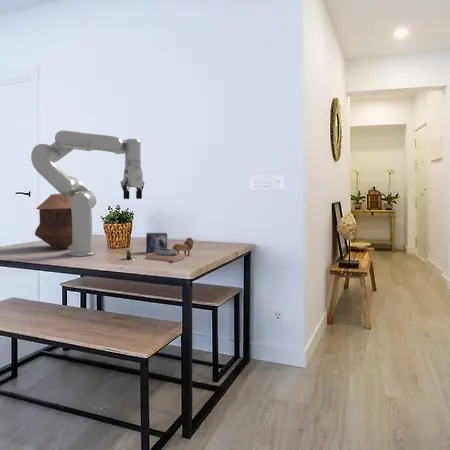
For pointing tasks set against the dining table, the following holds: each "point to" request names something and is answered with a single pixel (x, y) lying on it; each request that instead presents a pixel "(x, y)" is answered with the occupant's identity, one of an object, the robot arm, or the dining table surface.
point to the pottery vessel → (55, 221)
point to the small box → (155, 241)
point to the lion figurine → (184, 246)
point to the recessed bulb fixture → (165, 252)
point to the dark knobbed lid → (128, 256)
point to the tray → (165, 257)
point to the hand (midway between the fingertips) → (132, 198)
